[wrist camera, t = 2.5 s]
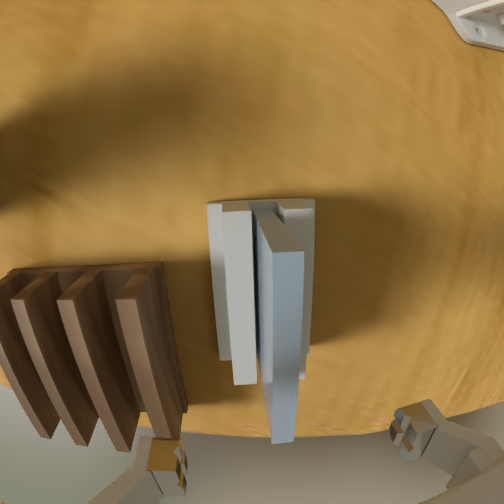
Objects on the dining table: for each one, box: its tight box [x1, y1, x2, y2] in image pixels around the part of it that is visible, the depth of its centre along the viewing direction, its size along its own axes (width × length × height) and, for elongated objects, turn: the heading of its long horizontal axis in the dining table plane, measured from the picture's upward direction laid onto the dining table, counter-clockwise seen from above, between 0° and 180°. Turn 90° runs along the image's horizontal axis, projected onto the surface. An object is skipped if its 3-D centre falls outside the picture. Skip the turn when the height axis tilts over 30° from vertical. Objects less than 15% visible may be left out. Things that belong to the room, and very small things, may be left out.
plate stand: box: [207, 198, 315, 385], centre depth 21 cm, size 7×12×4 cm, turn 2°
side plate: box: [253, 209, 304, 444], centre depth 18 cm, size 1×11×9 cm, turn 2°
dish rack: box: [0, 262, 188, 452], centre depth 21 cm, size 14×14×6 cm
